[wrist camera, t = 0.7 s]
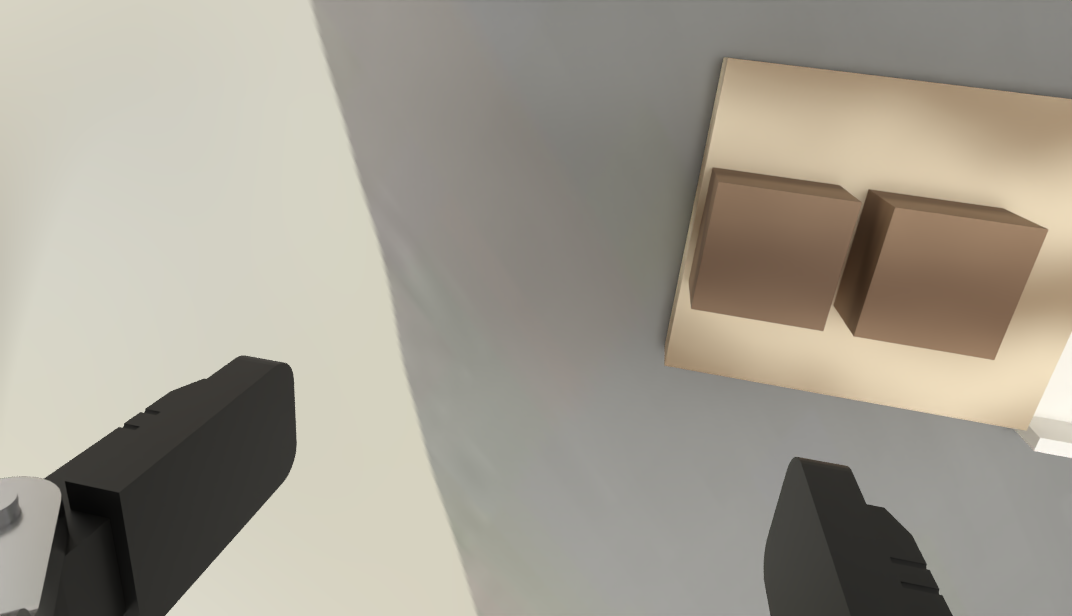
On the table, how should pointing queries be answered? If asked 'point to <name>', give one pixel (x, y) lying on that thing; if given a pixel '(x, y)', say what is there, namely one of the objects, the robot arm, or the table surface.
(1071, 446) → the tray
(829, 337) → the beige square panel
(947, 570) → the table surface
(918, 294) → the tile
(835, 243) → the brown square block
